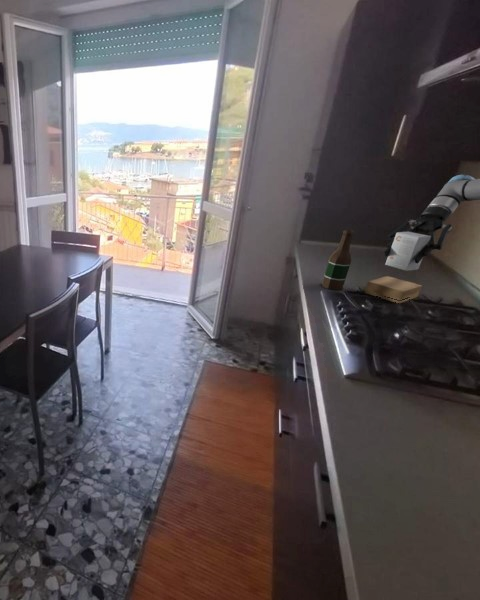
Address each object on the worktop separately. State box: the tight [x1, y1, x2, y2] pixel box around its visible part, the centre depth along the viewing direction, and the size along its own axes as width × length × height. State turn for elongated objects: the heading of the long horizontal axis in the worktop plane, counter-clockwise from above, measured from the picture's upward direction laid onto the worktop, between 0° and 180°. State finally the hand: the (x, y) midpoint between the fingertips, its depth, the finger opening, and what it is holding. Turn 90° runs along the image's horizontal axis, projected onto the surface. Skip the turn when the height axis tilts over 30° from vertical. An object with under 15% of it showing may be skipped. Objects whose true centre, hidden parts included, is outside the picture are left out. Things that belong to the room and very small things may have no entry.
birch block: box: [363, 275, 423, 304], centre depth 142 cm, size 12×14×5 cm
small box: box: [384, 232, 431, 272], centre depth 135 cm, size 8×6×13 cm
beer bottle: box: [321, 229, 355, 291], centre depth 146 cm, size 8×8×24 cm
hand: (400, 257), depth 135 cm, fingers closed on small box, 9 cm apart
